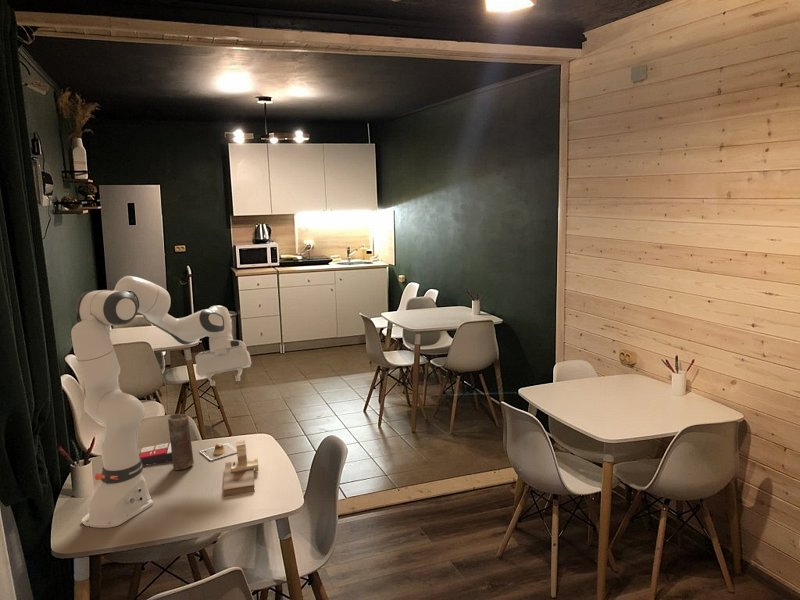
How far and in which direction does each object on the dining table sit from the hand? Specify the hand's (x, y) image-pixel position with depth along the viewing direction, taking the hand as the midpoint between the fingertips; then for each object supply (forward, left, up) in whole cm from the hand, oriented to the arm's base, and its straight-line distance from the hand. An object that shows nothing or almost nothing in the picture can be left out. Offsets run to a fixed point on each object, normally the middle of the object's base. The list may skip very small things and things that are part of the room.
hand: (225, 383), depth 234 cm
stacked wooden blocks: (-10, -10, -29) cm, 32 cm away
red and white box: (-2, +31, -31) cm, 44 cm away
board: (-15, -11, -30) cm, 36 cm away
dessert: (+5, +9, -31) cm, 33 cm away
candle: (-8, +16, -31) cm, 36 cm away
